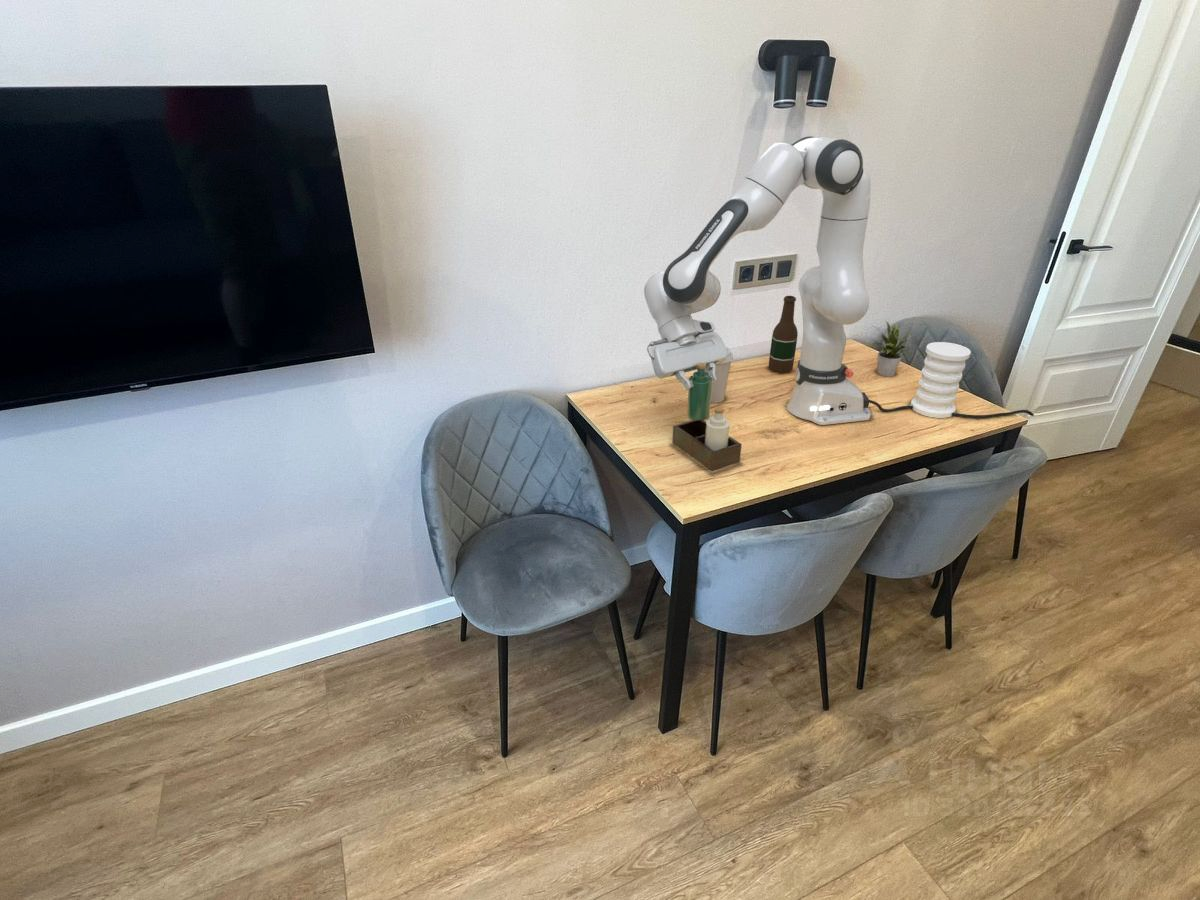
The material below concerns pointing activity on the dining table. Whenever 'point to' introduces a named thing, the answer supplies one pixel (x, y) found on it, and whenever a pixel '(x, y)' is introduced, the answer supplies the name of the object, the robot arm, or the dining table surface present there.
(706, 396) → the green bottle
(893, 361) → the house plant
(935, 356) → the decorative container
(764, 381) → the dining table surface
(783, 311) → the beer bottle
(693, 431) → the caddy
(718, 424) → the cream bottle
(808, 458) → the dining table surface
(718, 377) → the coffee cup
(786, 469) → the dining table surface
